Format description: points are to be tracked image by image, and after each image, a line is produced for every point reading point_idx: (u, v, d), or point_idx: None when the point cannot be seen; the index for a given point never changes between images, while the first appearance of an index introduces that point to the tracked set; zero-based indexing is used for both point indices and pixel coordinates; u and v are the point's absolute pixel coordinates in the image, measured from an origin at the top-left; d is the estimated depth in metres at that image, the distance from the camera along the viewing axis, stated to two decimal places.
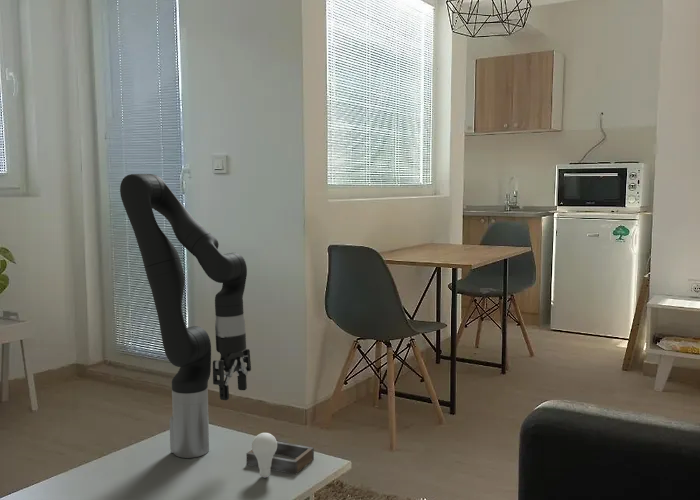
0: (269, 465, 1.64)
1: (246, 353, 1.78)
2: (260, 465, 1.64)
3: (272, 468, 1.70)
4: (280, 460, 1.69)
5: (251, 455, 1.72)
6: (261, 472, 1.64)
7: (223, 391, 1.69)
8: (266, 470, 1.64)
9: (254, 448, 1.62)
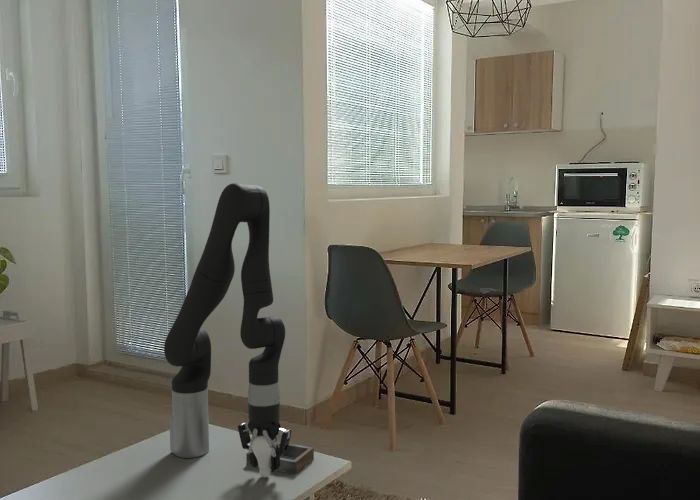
0: (269, 465, 1.64)
1: None
2: (260, 465, 1.64)
3: None
4: (280, 460, 1.69)
5: None
6: (261, 472, 1.64)
7: (279, 460, 1.64)
8: (266, 470, 1.64)
9: (254, 448, 1.63)
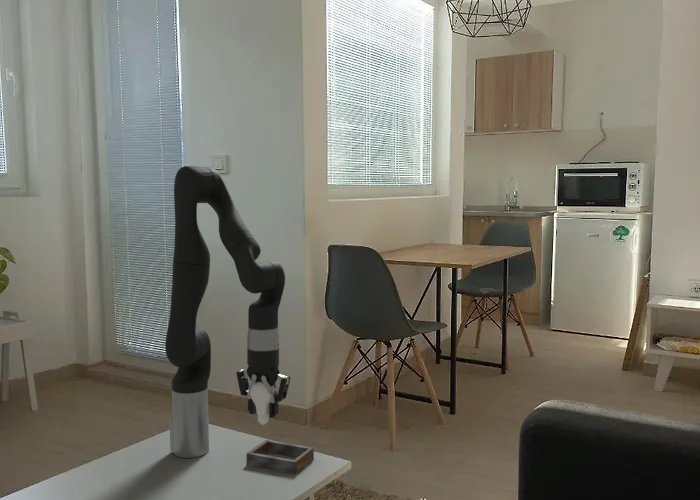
0: (267, 412, 1.63)
1: None
2: (259, 411, 1.62)
3: (272, 468, 1.70)
4: (280, 460, 1.69)
5: (251, 455, 1.72)
6: (259, 419, 1.63)
7: (277, 407, 1.62)
8: (264, 417, 1.63)
9: (252, 394, 1.61)
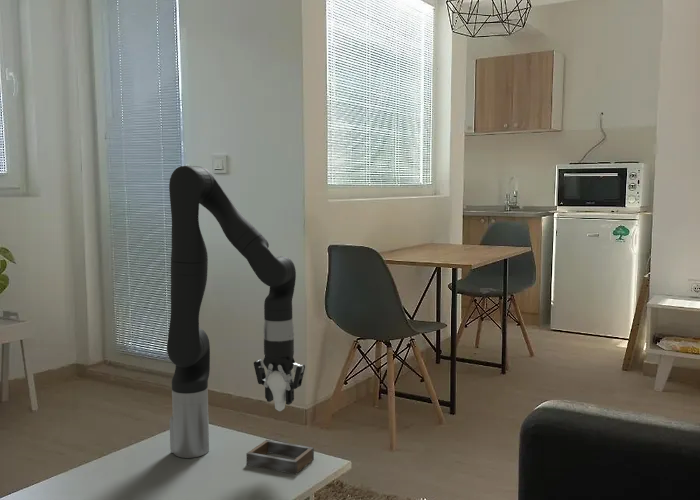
0: (284, 399, 1.72)
1: None
2: (276, 398, 1.71)
3: (272, 468, 1.70)
4: (280, 460, 1.69)
5: (251, 455, 1.72)
6: (276, 406, 1.72)
7: (293, 394, 1.72)
8: (281, 404, 1.72)
9: (269, 382, 1.70)
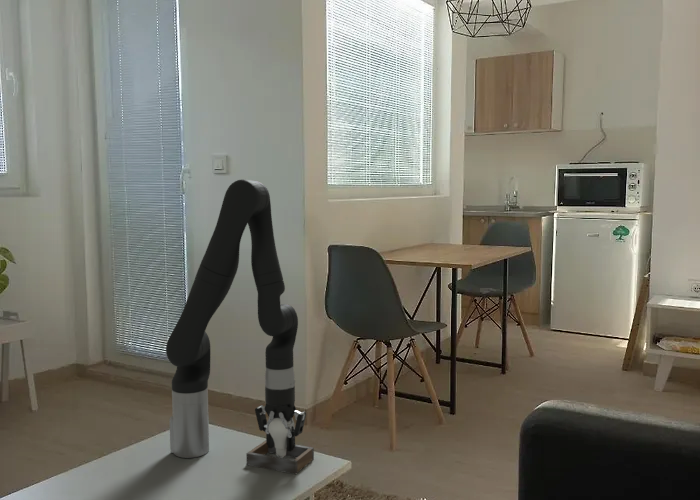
0: (285, 445, 1.73)
1: None
2: (277, 445, 1.73)
3: (272, 468, 1.70)
4: (280, 460, 1.69)
5: (251, 455, 1.72)
6: (278, 452, 1.73)
7: (294, 441, 1.73)
8: (282, 451, 1.73)
9: (270, 429, 1.72)
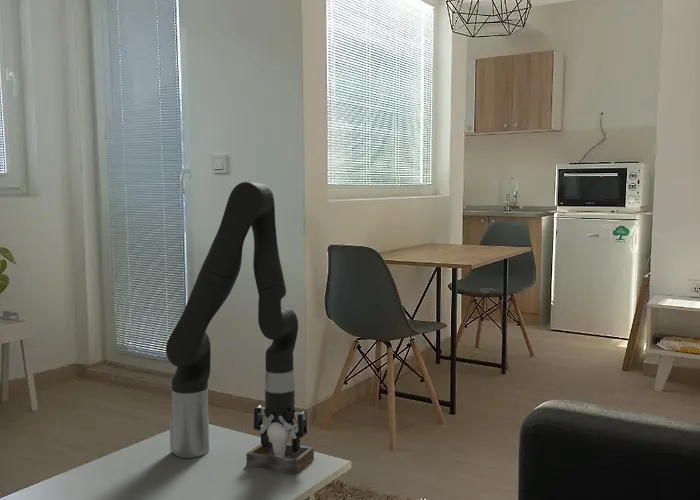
0: (283, 450, 1.73)
1: None
2: (275, 449, 1.73)
3: (272, 468, 1.70)
4: (280, 460, 1.69)
5: (251, 455, 1.72)
6: (276, 456, 1.73)
7: (299, 442, 1.72)
8: (280, 455, 1.73)
9: (269, 433, 1.72)
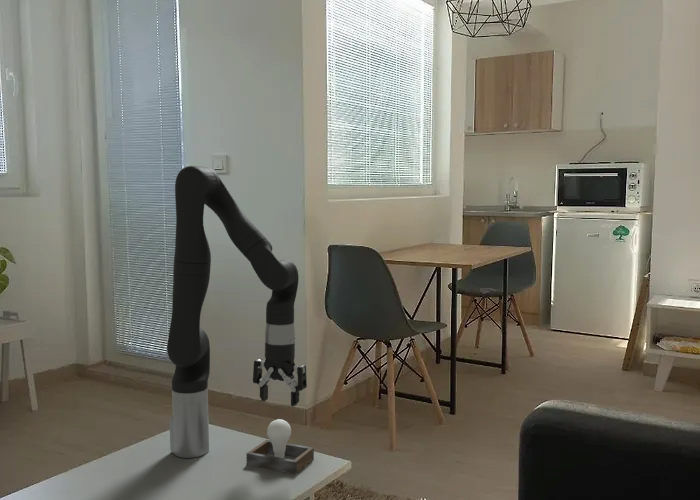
0: (283, 450, 1.73)
1: None
2: (275, 449, 1.73)
3: (272, 468, 1.70)
4: (280, 460, 1.69)
5: (251, 455, 1.72)
6: (276, 456, 1.73)
7: (298, 396, 1.71)
8: (280, 455, 1.73)
9: (269, 433, 1.72)
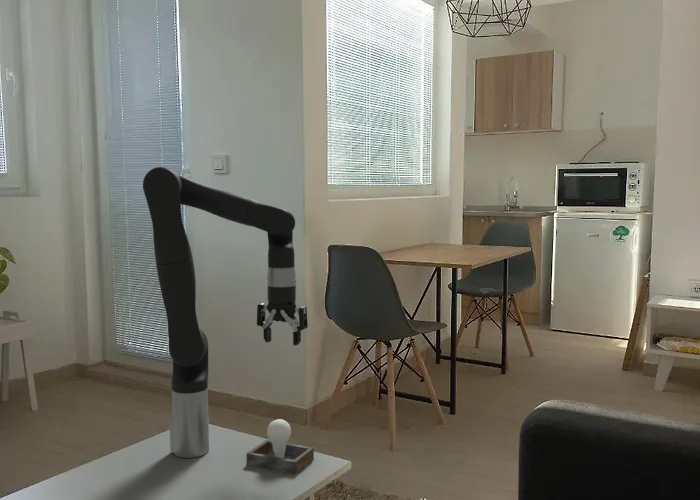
0: (283, 450, 1.73)
1: None
2: (275, 449, 1.73)
3: (272, 468, 1.70)
4: (280, 460, 1.69)
5: (251, 455, 1.72)
6: (276, 456, 1.73)
7: (300, 335, 1.81)
8: (280, 455, 1.73)
9: (269, 433, 1.72)
